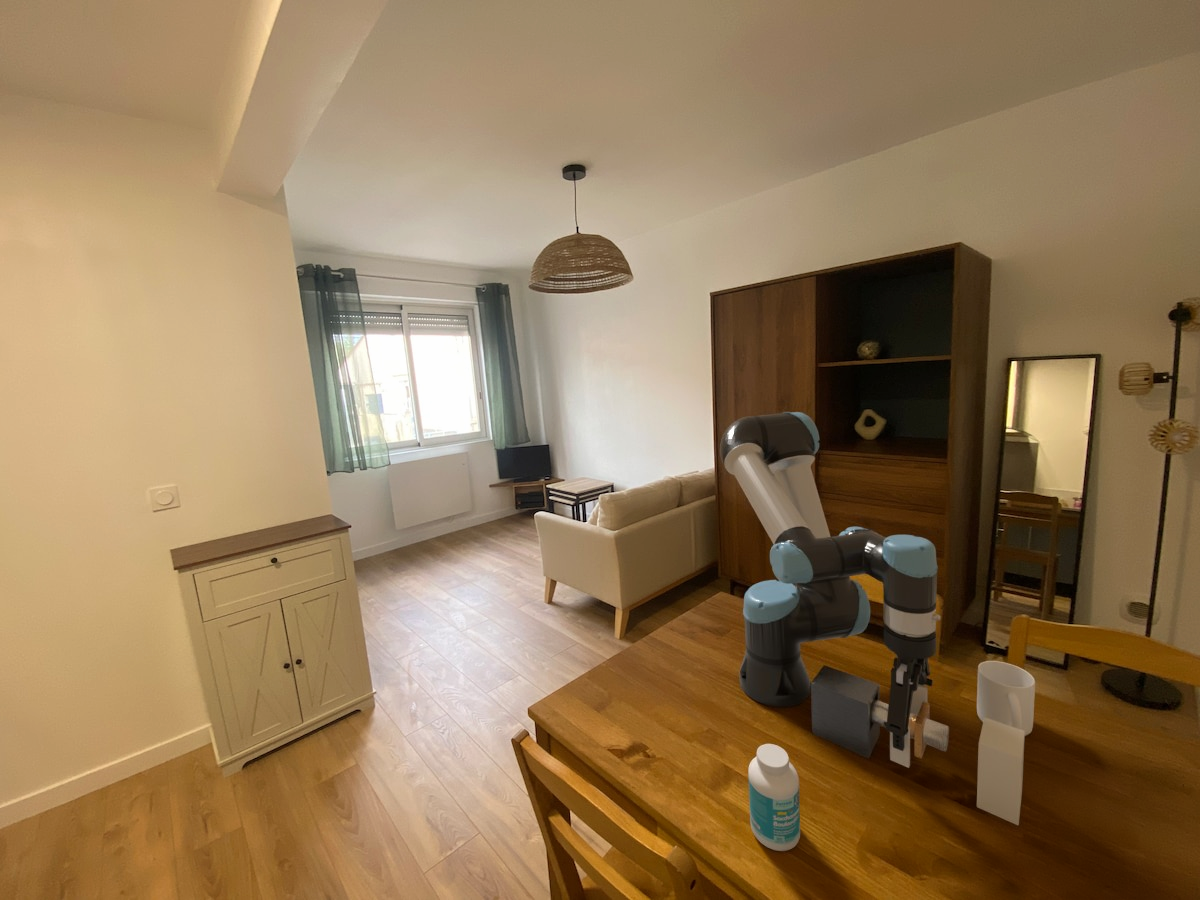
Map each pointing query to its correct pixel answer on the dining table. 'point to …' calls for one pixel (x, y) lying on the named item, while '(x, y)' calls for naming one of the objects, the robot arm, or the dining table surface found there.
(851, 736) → the sleeve
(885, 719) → the tube
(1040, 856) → the dining table surface
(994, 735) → the socket block
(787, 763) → the pill bottle
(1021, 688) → the mug
